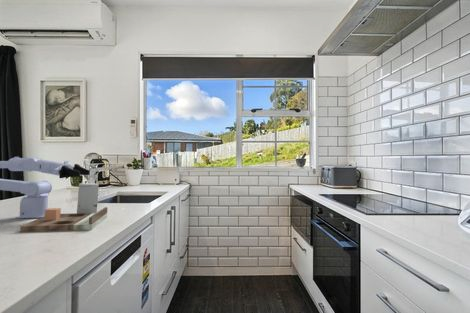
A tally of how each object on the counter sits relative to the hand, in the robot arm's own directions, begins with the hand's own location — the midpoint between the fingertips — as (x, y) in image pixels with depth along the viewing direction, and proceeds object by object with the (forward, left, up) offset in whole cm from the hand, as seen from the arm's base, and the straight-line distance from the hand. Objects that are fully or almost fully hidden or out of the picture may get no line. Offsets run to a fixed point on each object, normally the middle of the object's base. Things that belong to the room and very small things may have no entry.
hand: (84, 173), depth 119 cm
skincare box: (+1, +4, -20) cm, 20 cm away
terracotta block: (-7, -12, -18) cm, 23 cm away
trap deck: (-1, -12, -20) cm, 23 cm away
